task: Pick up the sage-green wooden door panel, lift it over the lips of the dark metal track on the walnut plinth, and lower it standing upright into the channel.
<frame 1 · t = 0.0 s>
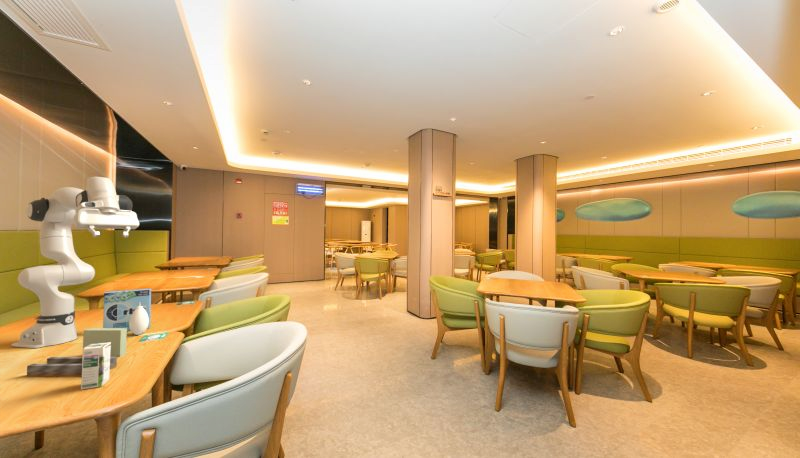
hand: (111, 236, 124), 54 cm above the table, tool tilted 30°, fingers open, 8 cm apart
door panel: (104, 355, 131), on the table
syrup box: (95, 385, 106), on the table
white air blower bulb: (138, 334, 158), on the table
gum box: (127, 330, 165), on the table
track: (73, 371, 116), on the table
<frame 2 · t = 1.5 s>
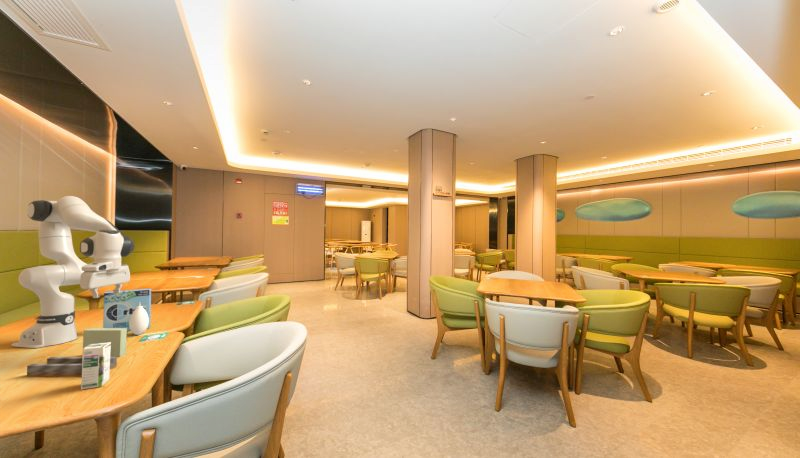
hand: (106, 295, 132), 27 cm above the table, tool pointing down, fingers open, 8 cm apart
nothing on the table moved.
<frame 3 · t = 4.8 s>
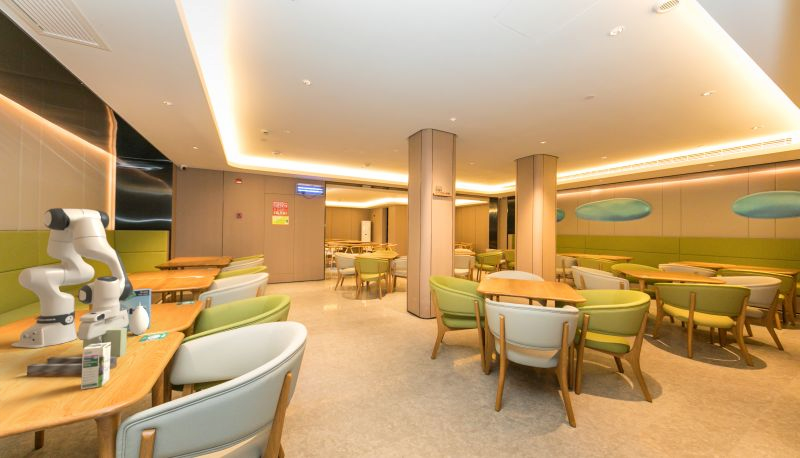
hand: (105, 343, 131), 6 cm above the table, tool pointing down, fingers closed on door panel, 3 cm apart
door panel: (104, 355, 131), on the table, touching gripper
everything else where it was.
when the fingers open (8 cm above the table, at t = 11.3 s): door panel stays where it is, resting on track.
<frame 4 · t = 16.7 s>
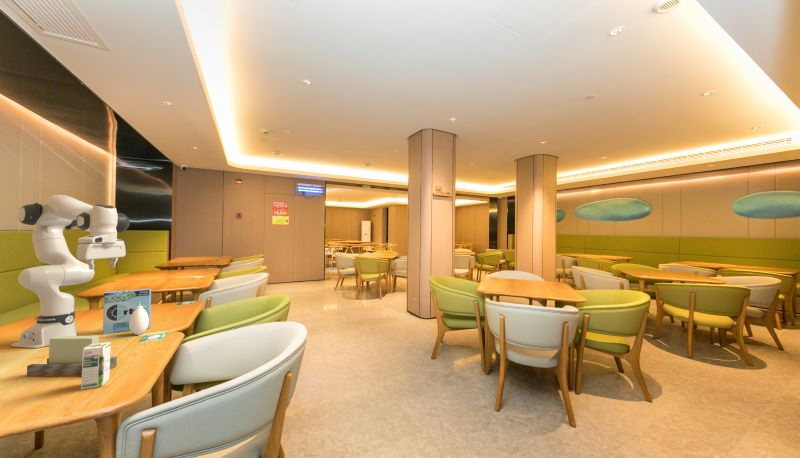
hand: (102, 268, 136), 39 cm above the table, tool pointing down, fingers open, 8 cm apart
door panel: (73, 367, 116), point 1 cm above the table, touching track
everything else where it was.
at the end: door panel inside the target area on the track (0.0 cm from its centre), point 1.5 cm above the track's base; door panel tilted 0°; the gripper is holding nothing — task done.
